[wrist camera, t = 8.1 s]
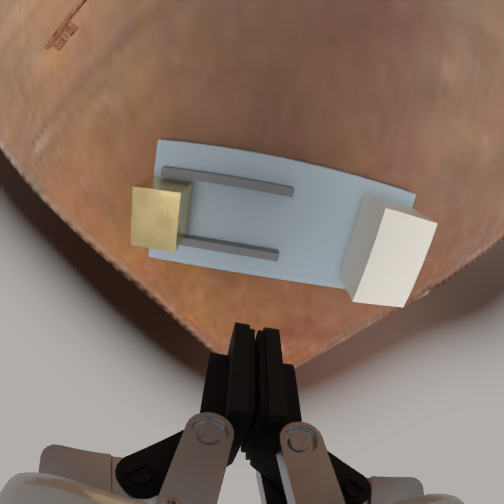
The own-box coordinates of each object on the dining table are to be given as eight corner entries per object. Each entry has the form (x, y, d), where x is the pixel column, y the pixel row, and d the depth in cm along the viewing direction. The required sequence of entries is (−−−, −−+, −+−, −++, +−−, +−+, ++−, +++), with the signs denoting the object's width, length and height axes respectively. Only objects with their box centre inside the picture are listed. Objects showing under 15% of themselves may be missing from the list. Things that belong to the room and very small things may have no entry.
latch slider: (152, 176, 25) (133, 186, 20) (193, 181, 25) (180, 193, 21) (149, 226, 27) (130, 244, 22) (187, 232, 27) (175, 252, 23)
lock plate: (162, 139, 25) (154, 140, 23) (409, 191, 27) (420, 196, 25) (153, 251, 30) (145, 260, 28) (376, 287, 32) (383, 298, 29)
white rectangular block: (364, 193, 26) (385, 207, 21) (412, 207, 26) (437, 223, 21) (338, 275, 29) (352, 301, 25) (385, 282, 30) (403, 307, 25)
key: (65, 60, 21) (152, -36, 16) (61, 60, 20) (150, -39, 16) (41, 43, 19) (121, -49, 14) (37, 42, 18) (119, -52, 14)
